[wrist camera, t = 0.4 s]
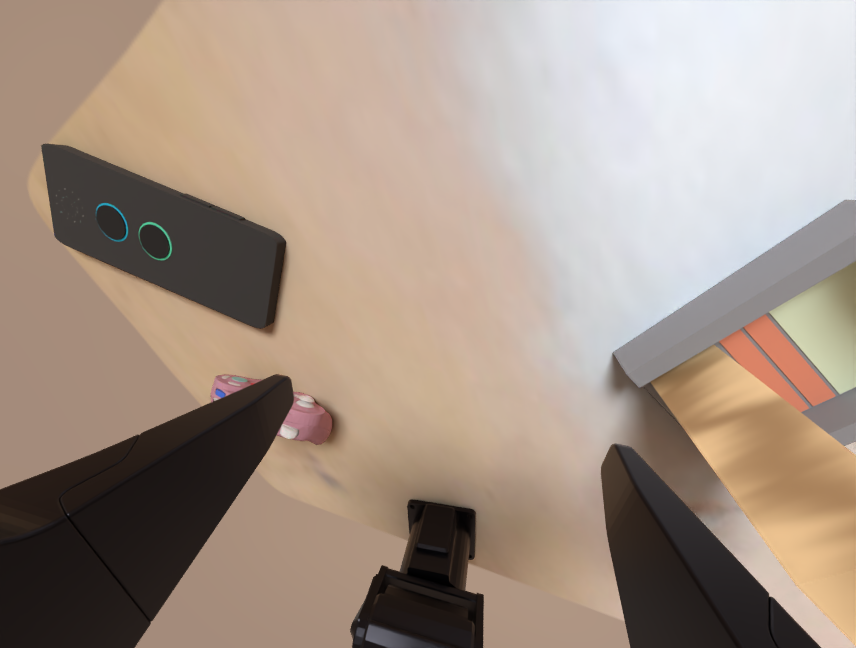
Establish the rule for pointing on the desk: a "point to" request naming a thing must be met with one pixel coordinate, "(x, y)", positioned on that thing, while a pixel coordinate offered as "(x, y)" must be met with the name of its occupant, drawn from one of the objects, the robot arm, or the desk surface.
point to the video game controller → (301, 420)
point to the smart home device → (164, 235)
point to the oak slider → (775, 474)
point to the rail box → (775, 324)
